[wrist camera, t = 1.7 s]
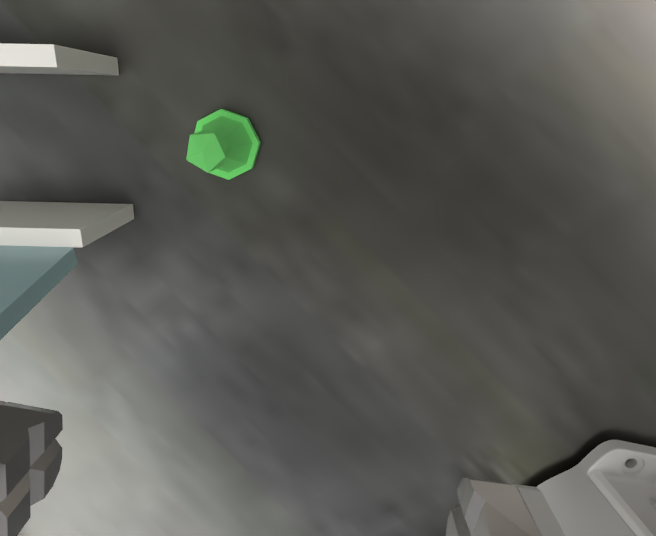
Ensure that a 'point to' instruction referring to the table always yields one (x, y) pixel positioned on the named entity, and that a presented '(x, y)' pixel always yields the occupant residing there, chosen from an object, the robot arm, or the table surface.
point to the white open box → (57, 217)
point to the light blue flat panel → (29, 278)
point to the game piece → (224, 144)
